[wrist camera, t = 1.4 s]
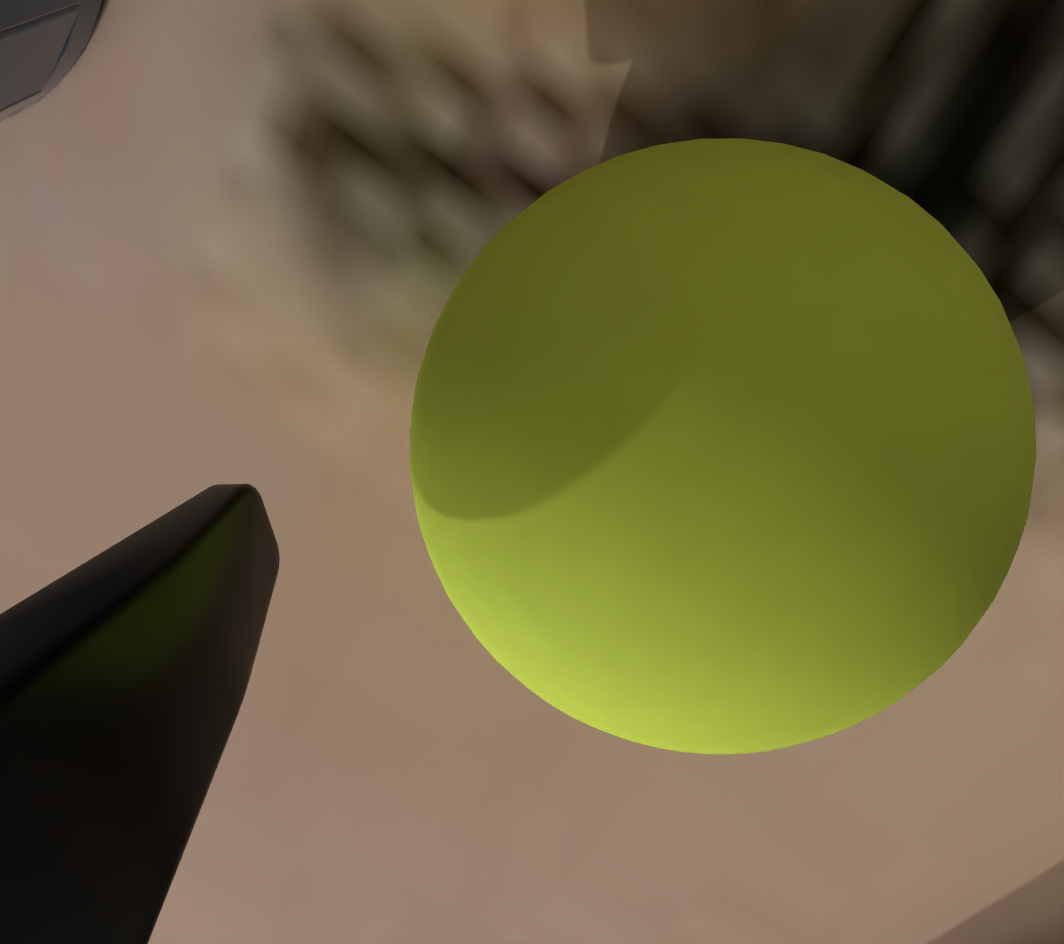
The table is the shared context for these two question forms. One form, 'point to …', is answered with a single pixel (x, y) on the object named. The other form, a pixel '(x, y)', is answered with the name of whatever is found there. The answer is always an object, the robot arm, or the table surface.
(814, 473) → the ball
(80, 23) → the tumbler
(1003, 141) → the table surface
